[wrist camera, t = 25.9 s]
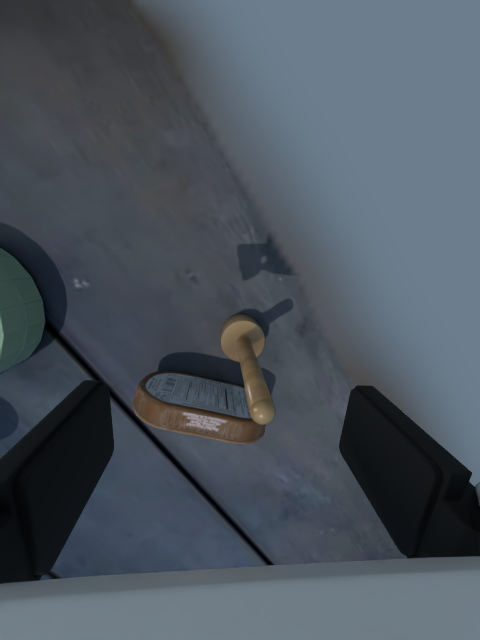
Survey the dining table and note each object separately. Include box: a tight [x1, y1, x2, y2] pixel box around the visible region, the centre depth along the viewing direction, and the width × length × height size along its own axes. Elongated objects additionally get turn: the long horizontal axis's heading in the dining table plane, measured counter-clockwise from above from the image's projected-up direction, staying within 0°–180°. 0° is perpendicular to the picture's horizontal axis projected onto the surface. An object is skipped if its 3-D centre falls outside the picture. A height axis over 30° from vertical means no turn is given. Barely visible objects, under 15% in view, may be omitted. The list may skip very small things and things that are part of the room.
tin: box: [133, 371, 266, 444], centre depth 27 cm, size 15×3×8 cm, turn 74°
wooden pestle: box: [221, 315, 276, 425], centre depth 22 cm, size 5×5×16 cm
